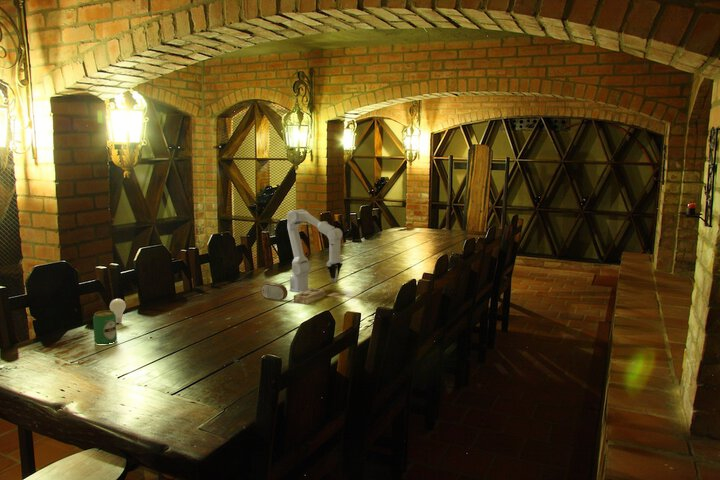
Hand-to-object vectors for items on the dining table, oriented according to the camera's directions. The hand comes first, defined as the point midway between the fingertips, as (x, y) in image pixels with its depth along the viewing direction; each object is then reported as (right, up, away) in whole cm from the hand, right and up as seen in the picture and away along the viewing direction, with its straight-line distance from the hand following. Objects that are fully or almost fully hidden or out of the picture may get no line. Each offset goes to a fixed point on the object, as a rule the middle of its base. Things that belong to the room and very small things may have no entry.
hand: (334, 277), depth 287 cm
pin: (0, -3, 0) cm, 3 cm away
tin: (-31, -11, -6) cm, 33 cm away
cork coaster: (+1, -10, +3) cm, 10 cm away
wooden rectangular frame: (-12, -11, -5) cm, 17 cm away
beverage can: (-86, -21, -72) cm, 114 cm away
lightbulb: (-91, -17, -49) cm, 105 cm away
